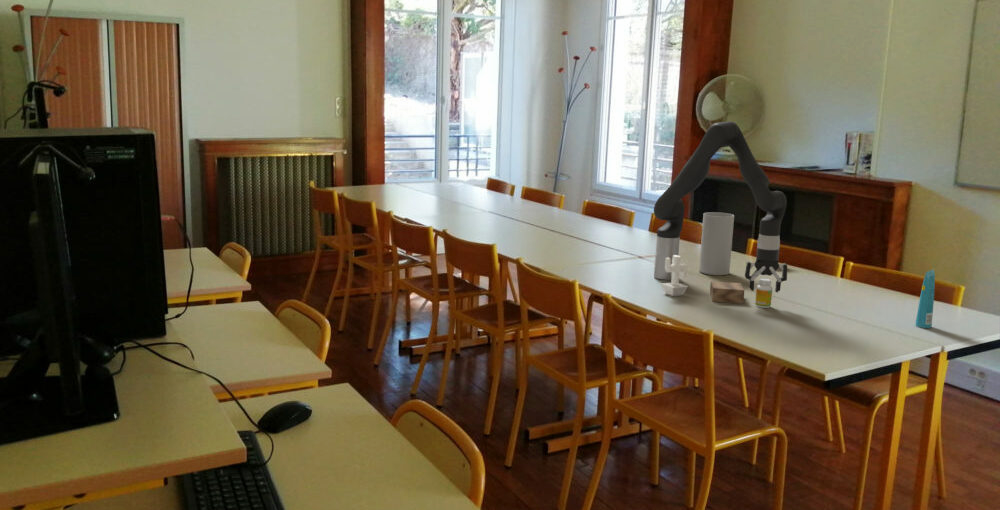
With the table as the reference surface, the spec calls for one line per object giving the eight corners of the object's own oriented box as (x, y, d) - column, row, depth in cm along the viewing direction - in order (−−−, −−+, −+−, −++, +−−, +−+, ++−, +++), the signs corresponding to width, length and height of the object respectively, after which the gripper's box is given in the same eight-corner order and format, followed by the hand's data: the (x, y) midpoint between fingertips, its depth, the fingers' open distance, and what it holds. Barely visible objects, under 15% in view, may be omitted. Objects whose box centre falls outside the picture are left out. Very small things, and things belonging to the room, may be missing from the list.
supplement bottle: (768, 309, 296) (770, 282, 294) (753, 306, 299) (755, 280, 297) (772, 305, 301) (774, 279, 299) (757, 303, 304) (759, 277, 302)
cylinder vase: (726, 270, 359) (731, 212, 354) (731, 276, 346) (736, 217, 341) (697, 268, 360) (701, 211, 355) (701, 275, 348) (705, 216, 343)
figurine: (690, 295, 313) (692, 256, 310) (669, 297, 309) (672, 258, 306) (678, 291, 319) (680, 252, 316) (658, 293, 315) (660, 254, 312)
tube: (918, 322, 284) (925, 267, 280) (933, 325, 281) (941, 270, 277) (912, 327, 278) (919, 271, 274) (928, 330, 275) (935, 273, 271)
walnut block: (712, 301, 305) (713, 288, 304) (709, 294, 316) (710, 281, 315) (743, 303, 303) (744, 290, 302) (739, 296, 314) (740, 283, 313)
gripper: (749, 247, 293) (745, 292, 296) (791, 249, 291) (786, 294, 294) (746, 244, 300) (742, 287, 303) (787, 246, 298) (783, 290, 301)
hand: (764, 291), depth 299 cm, fingers open, 8 cm apart
